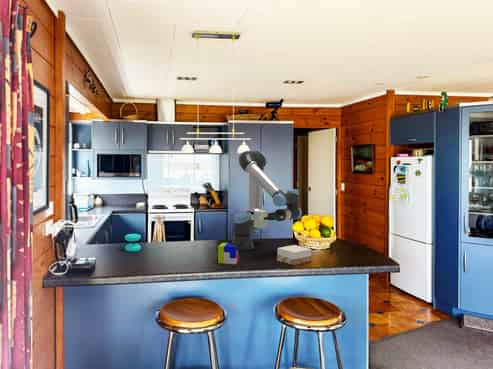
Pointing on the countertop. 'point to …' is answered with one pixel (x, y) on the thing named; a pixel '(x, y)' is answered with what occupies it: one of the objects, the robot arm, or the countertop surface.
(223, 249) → the puzzle toy
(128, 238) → the teal spool
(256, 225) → the sage block
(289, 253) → the tower top
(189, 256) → the countertop surface
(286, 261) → the tower base
